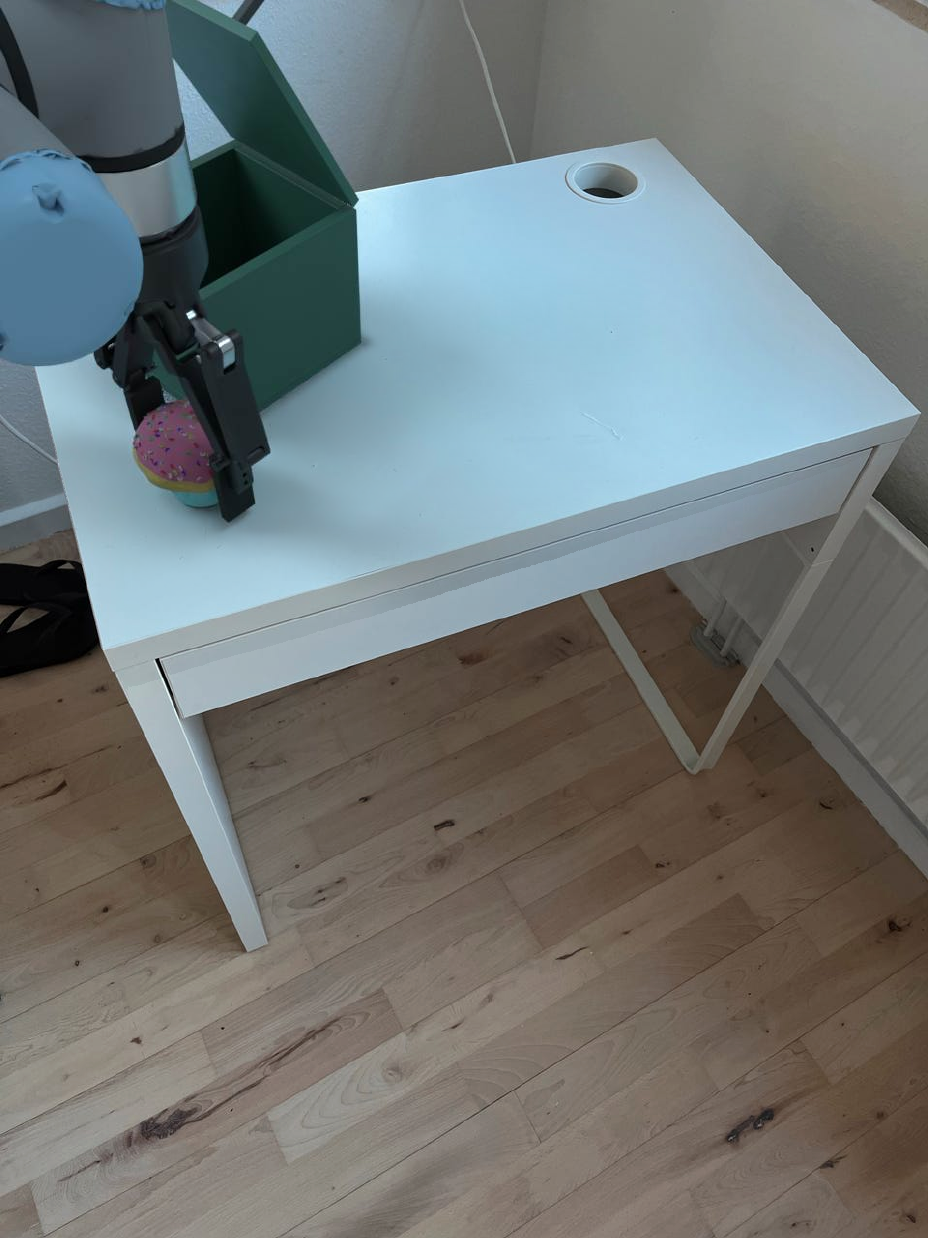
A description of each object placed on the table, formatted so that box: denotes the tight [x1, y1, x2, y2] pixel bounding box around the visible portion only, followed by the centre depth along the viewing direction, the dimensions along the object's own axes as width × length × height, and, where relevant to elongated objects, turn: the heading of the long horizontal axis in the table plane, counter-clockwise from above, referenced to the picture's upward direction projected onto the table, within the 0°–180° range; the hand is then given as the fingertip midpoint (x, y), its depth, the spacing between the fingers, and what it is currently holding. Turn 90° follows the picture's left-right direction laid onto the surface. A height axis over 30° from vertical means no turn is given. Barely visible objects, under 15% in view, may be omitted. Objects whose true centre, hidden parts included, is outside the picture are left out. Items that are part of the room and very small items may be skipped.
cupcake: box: [132, 398, 219, 508], centre depth 68 cm, size 9×8×12 cm
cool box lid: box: [165, 0, 360, 208], centre depth 67 cm, size 17×14×8 cm
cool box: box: [112, 138, 362, 413], centre depth 77 cm, size 16×14×13 cm
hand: (198, 479), depth 72 cm, fingers closed on cupcake, 8 cm apart
